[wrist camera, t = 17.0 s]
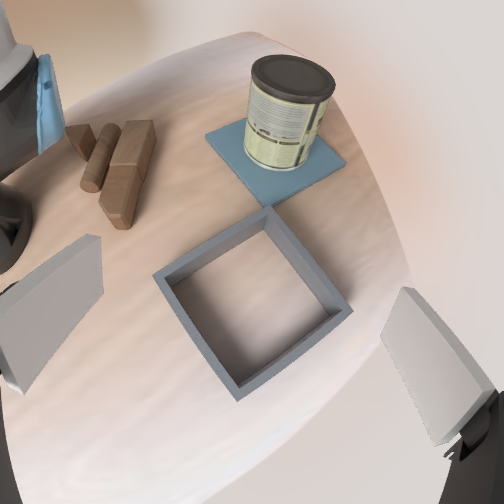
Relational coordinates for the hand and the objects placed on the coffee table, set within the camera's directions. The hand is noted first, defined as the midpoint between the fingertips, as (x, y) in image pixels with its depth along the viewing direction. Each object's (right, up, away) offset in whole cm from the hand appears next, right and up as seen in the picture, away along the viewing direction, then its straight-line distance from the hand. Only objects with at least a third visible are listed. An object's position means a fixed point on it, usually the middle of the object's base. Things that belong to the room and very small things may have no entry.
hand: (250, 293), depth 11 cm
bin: (0, -4, +22) cm, 23 cm away
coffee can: (+4, +18, +31) cm, 36 cm away
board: (+4, +17, +31) cm, 36 cm away
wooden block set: (-24, +13, +27) cm, 39 cm away
